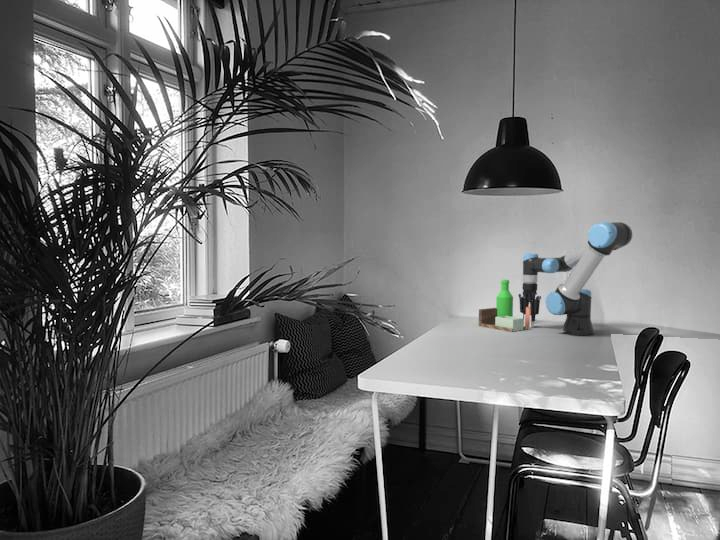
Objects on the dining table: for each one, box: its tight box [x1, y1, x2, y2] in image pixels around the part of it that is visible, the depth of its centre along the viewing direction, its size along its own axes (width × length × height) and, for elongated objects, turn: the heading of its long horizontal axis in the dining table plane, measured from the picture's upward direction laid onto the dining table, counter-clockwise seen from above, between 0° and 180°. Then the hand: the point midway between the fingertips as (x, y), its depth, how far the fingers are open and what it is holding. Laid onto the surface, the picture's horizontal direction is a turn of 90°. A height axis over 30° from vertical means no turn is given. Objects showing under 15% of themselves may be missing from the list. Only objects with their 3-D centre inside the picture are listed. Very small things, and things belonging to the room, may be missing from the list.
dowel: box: [525, 306, 531, 329], centre depth 336 cm, size 3×3×12 cm
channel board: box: [478, 307, 529, 333], centre depth 334 cm, size 23×12×10 cm, turn 35°
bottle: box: [495, 279, 514, 317], centre depth 353 cm, size 9×9×25 cm
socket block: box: [495, 316, 524, 332], centre depth 331 cm, size 12×8×6 cm, turn 35°
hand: (528, 326), depth 337 cm, fingers closed on dowel, 3 cm apart
